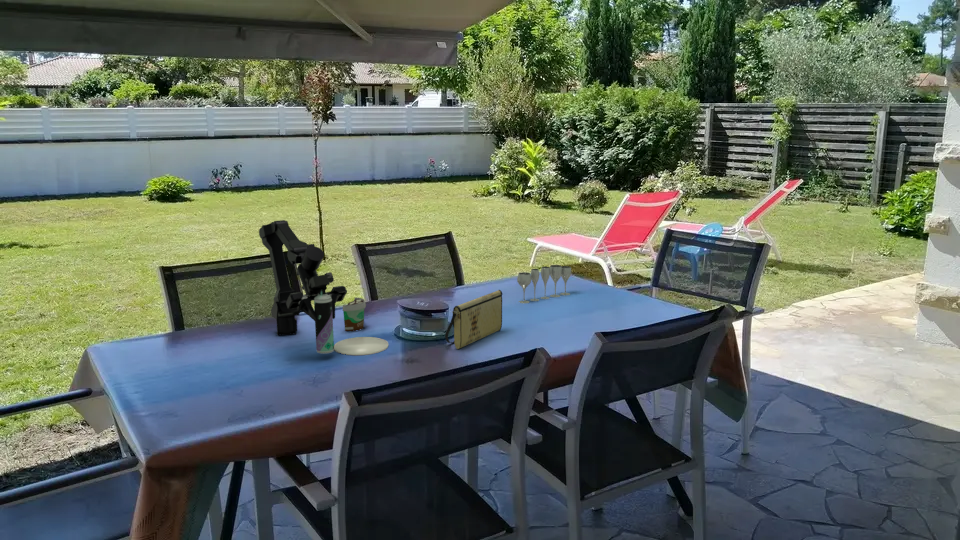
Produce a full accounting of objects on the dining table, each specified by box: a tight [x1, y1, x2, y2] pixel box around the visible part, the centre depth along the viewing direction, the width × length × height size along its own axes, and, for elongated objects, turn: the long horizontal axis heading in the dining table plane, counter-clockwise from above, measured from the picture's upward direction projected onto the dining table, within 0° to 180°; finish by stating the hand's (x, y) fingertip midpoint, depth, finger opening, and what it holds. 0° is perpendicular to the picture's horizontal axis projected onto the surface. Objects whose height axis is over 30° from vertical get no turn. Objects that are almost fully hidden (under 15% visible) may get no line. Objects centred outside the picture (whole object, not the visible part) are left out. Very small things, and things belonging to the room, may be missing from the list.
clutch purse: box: [444, 289, 503, 350], centre depth 250 cm, size 30×7×15 cm, turn 146°
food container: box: [342, 297, 367, 332], centre depth 263 cm, size 12×6×10 cm, turn 168°
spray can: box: [313, 290, 335, 355], centre depth 230 cm, size 6×6×20 cm
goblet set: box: [516, 264, 572, 304], centre depth 305 cm, size 28×6×13 cm, turn 126°
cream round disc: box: [334, 336, 389, 356], centre depth 243 cm, size 18×18×1 cm
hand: (325, 319), depth 229 cm, fingers closed on spray can, 5 cm apart
